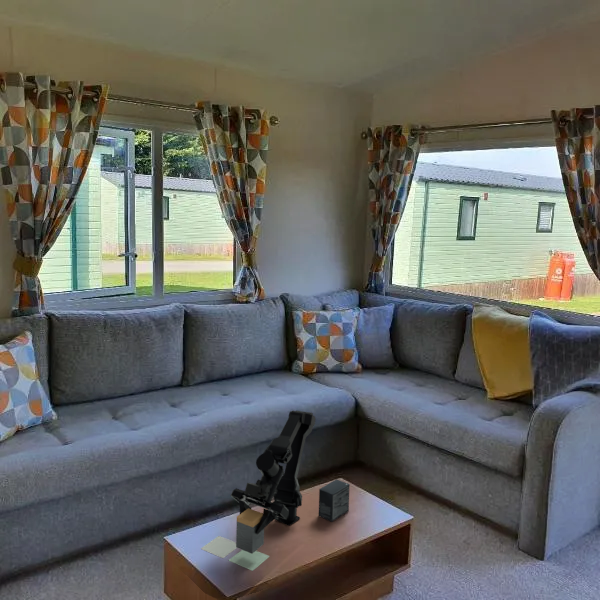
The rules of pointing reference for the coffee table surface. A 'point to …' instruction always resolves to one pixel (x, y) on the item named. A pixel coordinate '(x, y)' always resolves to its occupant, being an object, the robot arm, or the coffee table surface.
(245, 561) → the stand
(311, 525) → the coffee table surface
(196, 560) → the coffee table surface
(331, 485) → the small box
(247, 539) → the base
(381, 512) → the coffee table surface
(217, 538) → the stand
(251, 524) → the cover
